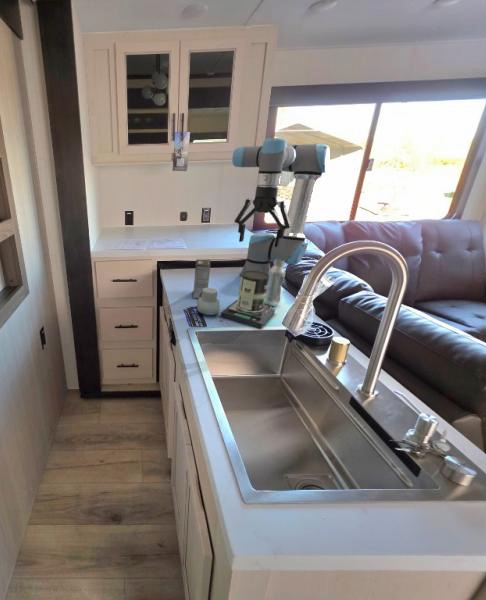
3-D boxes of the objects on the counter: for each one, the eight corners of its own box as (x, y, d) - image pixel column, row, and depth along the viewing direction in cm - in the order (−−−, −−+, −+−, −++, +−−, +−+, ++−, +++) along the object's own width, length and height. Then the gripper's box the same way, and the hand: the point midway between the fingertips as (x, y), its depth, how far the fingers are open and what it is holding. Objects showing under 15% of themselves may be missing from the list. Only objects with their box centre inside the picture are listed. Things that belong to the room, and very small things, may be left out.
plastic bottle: (272, 308, 133) (281, 263, 125) (259, 303, 139) (267, 259, 131) (282, 305, 136) (292, 261, 128) (269, 300, 141) (277, 257, 133)
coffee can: (262, 304, 130) (268, 271, 125) (263, 314, 121) (270, 280, 116) (236, 300, 133) (241, 269, 128) (236, 310, 124) (241, 277, 119)
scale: (236, 303, 138) (236, 298, 137) (274, 314, 129) (275, 308, 128) (220, 316, 127) (221, 311, 126) (261, 328, 117) (262, 323, 116)
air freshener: (219, 318, 125) (222, 295, 121) (197, 317, 126) (200, 294, 122) (216, 307, 135) (219, 285, 131) (196, 306, 136) (198, 284, 132)
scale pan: (240, 300, 136) (240, 298, 136) (271, 308, 129) (271, 306, 128) (227, 310, 127) (228, 308, 127) (260, 320, 119) (261, 317, 119)
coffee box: (193, 291, 152) (196, 258, 145) (206, 291, 151) (210, 259, 144) (192, 298, 143) (195, 264, 137) (207, 299, 142) (211, 265, 136)
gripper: (230, 185, 118) (223, 241, 127) (303, 188, 104) (290, 250, 113) (237, 184, 124) (231, 237, 132) (308, 186, 109) (295, 246, 118)
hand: (258, 243), depth 123 cm, fingers open, 13 cm apart
